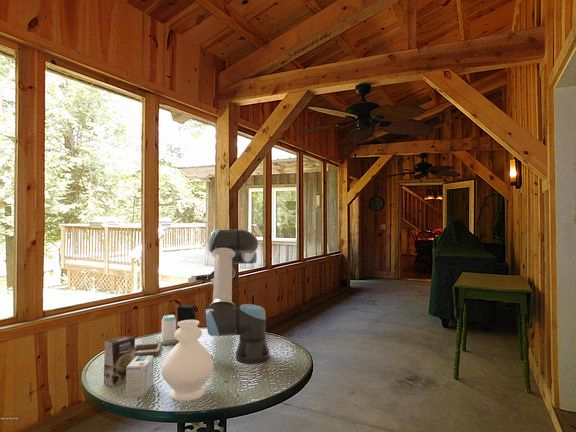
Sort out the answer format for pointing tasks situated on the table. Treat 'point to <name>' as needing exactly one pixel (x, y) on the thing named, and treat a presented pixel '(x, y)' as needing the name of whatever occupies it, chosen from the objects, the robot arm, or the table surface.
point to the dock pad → (167, 342)
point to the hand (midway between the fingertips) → (200, 281)
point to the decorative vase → (187, 364)
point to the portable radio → (185, 313)
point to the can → (168, 327)
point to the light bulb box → (139, 376)
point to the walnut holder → (148, 346)
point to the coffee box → (118, 359)
